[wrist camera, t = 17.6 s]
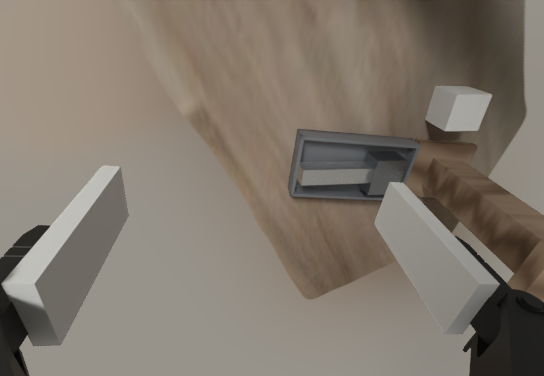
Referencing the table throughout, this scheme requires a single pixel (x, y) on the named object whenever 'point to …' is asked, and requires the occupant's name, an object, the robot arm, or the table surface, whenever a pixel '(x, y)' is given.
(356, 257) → the table surface
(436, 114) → the white cube
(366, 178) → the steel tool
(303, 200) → the table surface
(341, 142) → the tray
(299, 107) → the table surface
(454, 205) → the shelf post
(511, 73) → the table surface
